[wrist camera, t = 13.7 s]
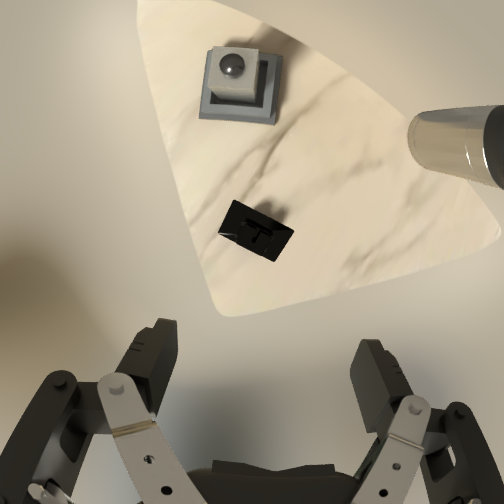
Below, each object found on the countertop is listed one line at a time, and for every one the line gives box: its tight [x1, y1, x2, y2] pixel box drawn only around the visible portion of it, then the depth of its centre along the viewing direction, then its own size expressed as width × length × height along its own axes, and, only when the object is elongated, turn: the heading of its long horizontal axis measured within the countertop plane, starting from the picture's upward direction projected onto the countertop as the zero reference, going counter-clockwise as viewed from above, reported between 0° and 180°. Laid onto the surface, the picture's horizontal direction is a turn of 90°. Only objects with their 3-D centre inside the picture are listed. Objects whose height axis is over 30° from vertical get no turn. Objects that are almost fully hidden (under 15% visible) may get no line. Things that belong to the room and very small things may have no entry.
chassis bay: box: [199, 50, 283, 125], centre depth 33 cm, size 10×10×4 cm
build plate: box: [218, 200, 294, 262], centre depth 40 cm, size 12×7×5 cm, turn 62°
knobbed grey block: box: [207, 46, 260, 104], centre depth 28 cm, size 4×4×11 cm
